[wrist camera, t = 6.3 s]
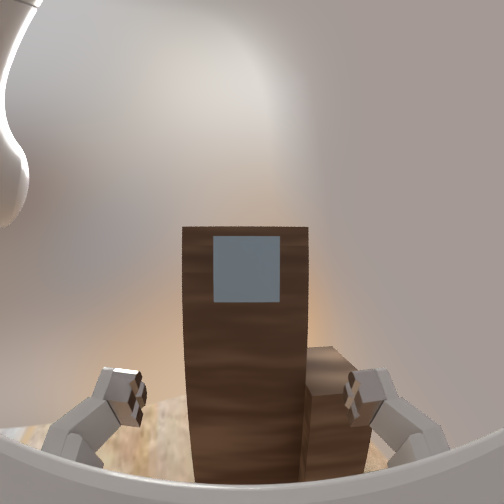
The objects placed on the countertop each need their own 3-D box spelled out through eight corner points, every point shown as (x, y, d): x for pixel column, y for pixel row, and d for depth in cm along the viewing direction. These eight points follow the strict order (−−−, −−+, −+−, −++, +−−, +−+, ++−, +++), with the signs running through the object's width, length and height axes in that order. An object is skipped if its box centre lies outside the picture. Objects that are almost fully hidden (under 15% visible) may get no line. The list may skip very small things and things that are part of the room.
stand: (353, 512, 22) (384, 224, 22) (195, 522, 21) (175, 222, 22) (319, 437, 38) (327, 239, 39) (209, 441, 38) (203, 239, 39)
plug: (279, 302, 17) (279, 236, 17) (213, 302, 17) (213, 236, 17) (259, 273, 36) (259, 242, 36) (228, 272, 36) (228, 242, 36)
